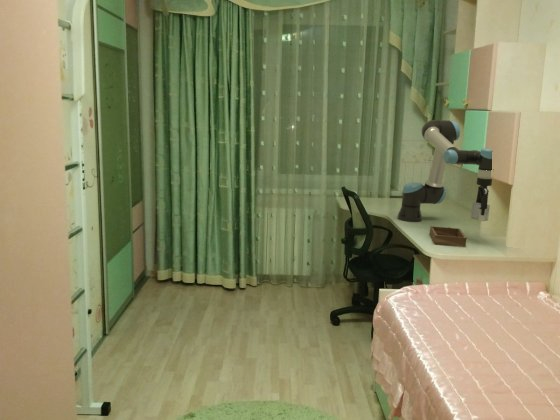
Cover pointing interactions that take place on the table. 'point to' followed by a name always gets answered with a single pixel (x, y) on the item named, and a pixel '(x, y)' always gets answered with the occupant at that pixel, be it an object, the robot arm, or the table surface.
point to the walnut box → (447, 236)
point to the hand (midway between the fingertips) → (479, 219)
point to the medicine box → (476, 211)
